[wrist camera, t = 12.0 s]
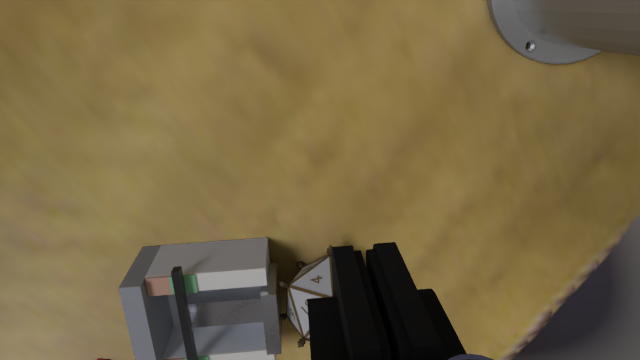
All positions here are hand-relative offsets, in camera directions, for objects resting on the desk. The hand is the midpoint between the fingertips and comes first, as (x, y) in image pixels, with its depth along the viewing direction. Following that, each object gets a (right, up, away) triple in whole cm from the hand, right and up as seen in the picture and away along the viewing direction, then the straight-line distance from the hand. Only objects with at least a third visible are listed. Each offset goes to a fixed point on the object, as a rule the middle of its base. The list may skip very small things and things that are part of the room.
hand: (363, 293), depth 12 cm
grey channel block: (-9, -7, +30) cm, 32 cm away
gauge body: (-11, -7, +31) cm, 34 cm away
